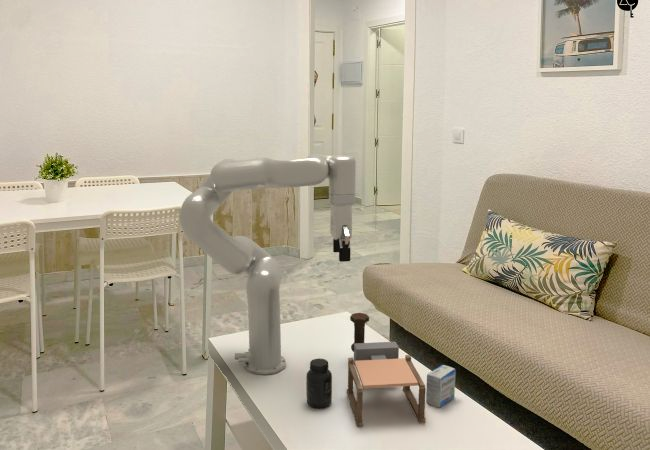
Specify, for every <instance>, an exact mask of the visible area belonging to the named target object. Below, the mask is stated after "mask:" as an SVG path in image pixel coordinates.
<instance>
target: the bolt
mask: <svg viewBox="0 0 650 450" xmlns="http://www.w3.org/2000/svg"><path fill="white" fill-rule="evenodd" d="M349 320H350V322H352V323H353V327H354V333H353V335H354V336H353V339H354V340H353V341H354V342H353V343H352V344H351V347H350V349H351V351H352V352H353V353H354V343H365V336H366V334H365V333H366V330H365V328H366V324H367V322H369V321H370V316H369V315H368V314H367V313H364V312H355V313H352V314H351V315H350V316H349Z"/></svg>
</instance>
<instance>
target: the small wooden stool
mask: <svg viewBox="0 0 650 450" xmlns="http://www.w3.org/2000/svg"><path fill="white" fill-rule="evenodd" d="M404 358H405V360H406V362H407V363H408V365H409V367H410V369H411V371H412V372H413V374H414V376H415V378H416V380H417V381H418V401H417V400H416V398H415V395H414V393H413V391H412V389H411V386H402V391H403V393H404V395H405V397H406V399H407V401H408V403H409V405H410V407H411V409H412V411H413V414H414V415H415V418H416V419H417V422H418V424H426V417H425V413H426V412H425V411H426V410H425V407H426V389H427V387H426V384H425V383H424V381H423V379H422V377H421V376H420V373H419V372H418V370H417V369H416V367H415V365H414V364H413V362H412V356H411V355H410V354H405V357H404ZM354 361H355V360H354V357H348V358H347V363H348V365H347V389H346V395H347V399H348V402H349V405H350V408H351V411H352V415H353V417H354V418H353V419H354V422H355V425H356V427H357V428H359V427H360V428H362V427H364V420H363V410H364V409H363V408H364V407H363V403H364V401H363V399H364V394H363V393H364V391H363V386H362V383H361V380H360V378H359V375H358V372H357V369H356V366H355V364H354ZM354 386H355V389H356V395H355V392H354Z"/></svg>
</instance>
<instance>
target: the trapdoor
mask: <svg viewBox="0 0 650 450" xmlns="http://www.w3.org/2000/svg"><path fill="white" fill-rule="evenodd" d="M353 343H354V342H353ZM399 349H400V347H399V344H397V342H396V341H382V342H381V341H380V342H378V341H377V342H364V343H354V352H353V360H354V362H353V364H354V366H355V369H356V372H357V375H358V378H359V380H360V383H361V386H362V390H364V389H379V388H380V389H381V388H397V387H403V386H410V387H413V386H414V387H415V386H416V387H417V386H418V381H417V380H416V378H415V376H414V374H413V372H412V371H411V369H410V367H409V365H408V363H407V362H406V360H405V357H403V358H399V353H400V352H399V351H400V350H399ZM418 387H419V386H418Z"/></svg>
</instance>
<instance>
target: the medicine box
mask: <svg viewBox="0 0 650 450" xmlns="http://www.w3.org/2000/svg"><path fill="white" fill-rule="evenodd" d="M456 370H457V369H456V368H454V367H452V366H449V365H445V364H441V365H440V366H438V367H437V368H435V369H432V371H430V372H428V373H427V374H426V391H425V404H428V405H431V406H434V407H436V408H438V409H441V408H442V407H443V406H445V404H447V403H448V402H449V401H452V400H453V398H454V397H455V392H456V389H455V388H456V375H457V374H456V373H457V372H456Z"/></svg>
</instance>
